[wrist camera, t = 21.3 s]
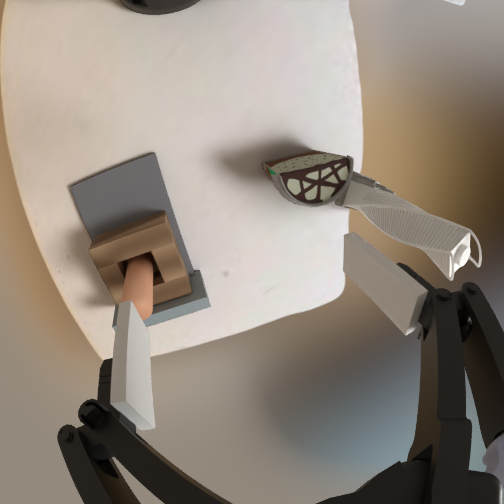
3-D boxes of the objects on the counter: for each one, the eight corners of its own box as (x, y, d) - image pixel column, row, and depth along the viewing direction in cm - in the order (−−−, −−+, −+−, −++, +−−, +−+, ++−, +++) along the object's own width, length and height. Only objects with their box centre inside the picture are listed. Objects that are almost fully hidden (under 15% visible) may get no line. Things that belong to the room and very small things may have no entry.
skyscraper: (376, 180, 50) (493, 236, 26) (363, 217, 53) (471, 288, 29) (345, 168, 47) (476, 225, 23) (332, 209, 50) (448, 288, 26)
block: (95, 236, 37) (88, 250, 33) (165, 210, 39) (165, 222, 35) (125, 296, 43) (122, 314, 39) (188, 275, 45) (192, 292, 41)
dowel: (124, 253, 39) (115, 300, 29) (147, 245, 40) (144, 290, 30) (135, 274, 41) (129, 324, 31) (157, 266, 42) (157, 315, 32)
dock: (67, 188, 34) (47, 203, 27) (161, 150, 36) (160, 156, 29) (121, 305, 45) (118, 335, 38) (202, 279, 48) (210, 306, 41)
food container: (260, 200, 44) (284, 221, 36) (252, 164, 41) (276, 177, 33) (325, 181, 46) (359, 197, 38) (320, 148, 43) (356, 157, 35)
